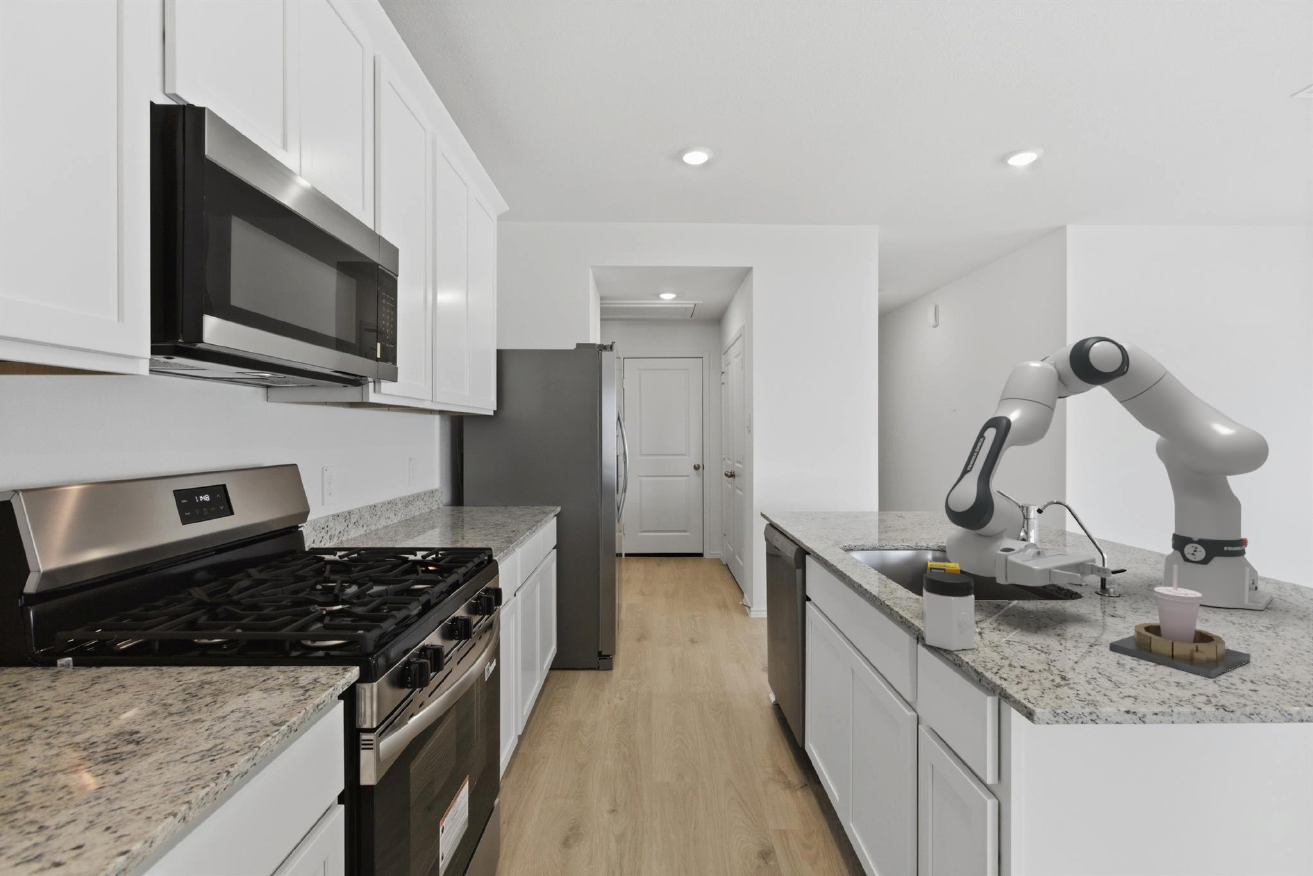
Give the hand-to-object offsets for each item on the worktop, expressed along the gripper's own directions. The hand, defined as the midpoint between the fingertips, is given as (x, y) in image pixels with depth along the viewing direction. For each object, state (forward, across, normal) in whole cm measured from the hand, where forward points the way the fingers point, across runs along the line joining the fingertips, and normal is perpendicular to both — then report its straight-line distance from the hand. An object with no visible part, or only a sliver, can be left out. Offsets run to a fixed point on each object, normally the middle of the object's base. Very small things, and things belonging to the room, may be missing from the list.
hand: (1095, 576), depth 115 cm
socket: (+13, 0, -11) cm, 17 cm away
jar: (-10, +28, -11) cm, 32 cm away
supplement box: (-20, +16, -11) cm, 28 cm away
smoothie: (+12, 0, -10) cm, 16 cm away
